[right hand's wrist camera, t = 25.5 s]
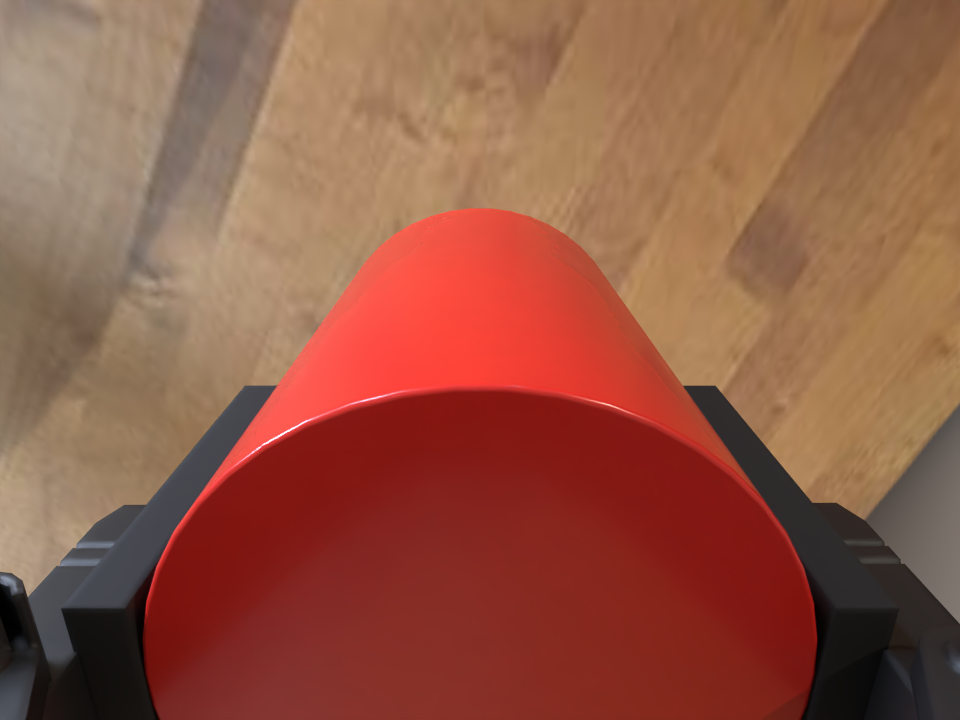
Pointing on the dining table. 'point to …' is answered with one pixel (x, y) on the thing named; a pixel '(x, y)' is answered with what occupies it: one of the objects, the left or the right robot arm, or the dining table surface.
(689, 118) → the dining table surface
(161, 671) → the canister
